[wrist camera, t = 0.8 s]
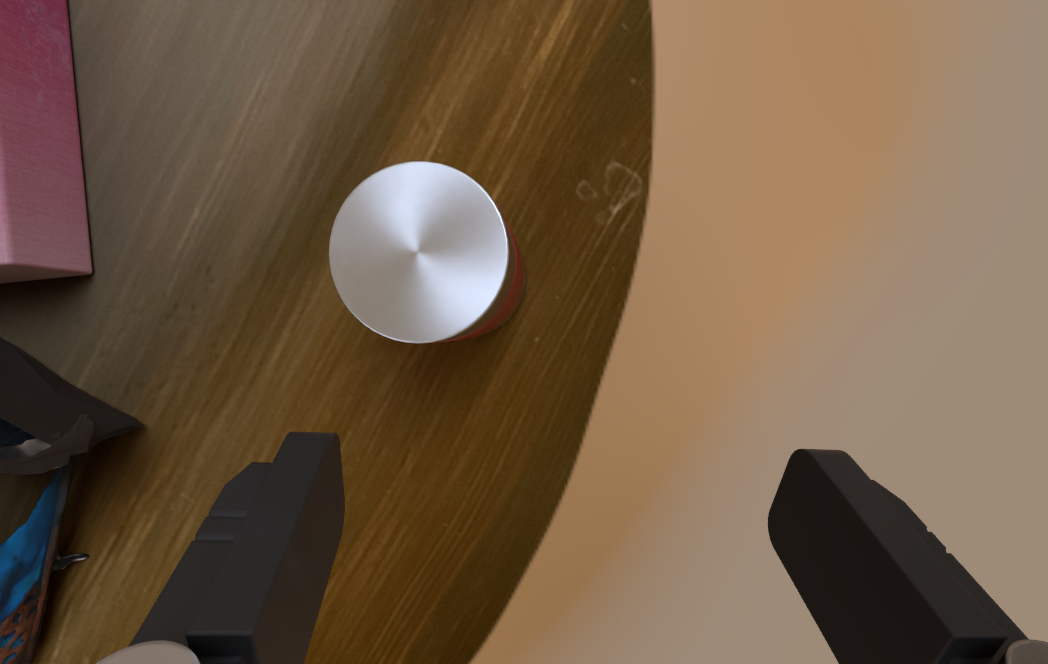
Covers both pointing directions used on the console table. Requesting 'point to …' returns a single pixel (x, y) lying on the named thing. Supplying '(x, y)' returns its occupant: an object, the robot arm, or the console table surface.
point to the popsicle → (39, 147)
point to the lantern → (33, 448)
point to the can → (425, 255)
